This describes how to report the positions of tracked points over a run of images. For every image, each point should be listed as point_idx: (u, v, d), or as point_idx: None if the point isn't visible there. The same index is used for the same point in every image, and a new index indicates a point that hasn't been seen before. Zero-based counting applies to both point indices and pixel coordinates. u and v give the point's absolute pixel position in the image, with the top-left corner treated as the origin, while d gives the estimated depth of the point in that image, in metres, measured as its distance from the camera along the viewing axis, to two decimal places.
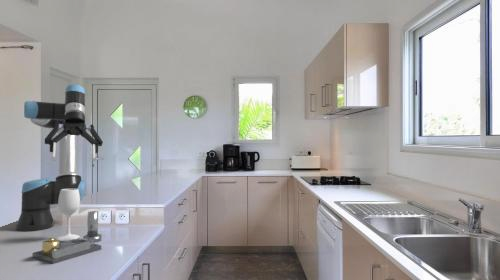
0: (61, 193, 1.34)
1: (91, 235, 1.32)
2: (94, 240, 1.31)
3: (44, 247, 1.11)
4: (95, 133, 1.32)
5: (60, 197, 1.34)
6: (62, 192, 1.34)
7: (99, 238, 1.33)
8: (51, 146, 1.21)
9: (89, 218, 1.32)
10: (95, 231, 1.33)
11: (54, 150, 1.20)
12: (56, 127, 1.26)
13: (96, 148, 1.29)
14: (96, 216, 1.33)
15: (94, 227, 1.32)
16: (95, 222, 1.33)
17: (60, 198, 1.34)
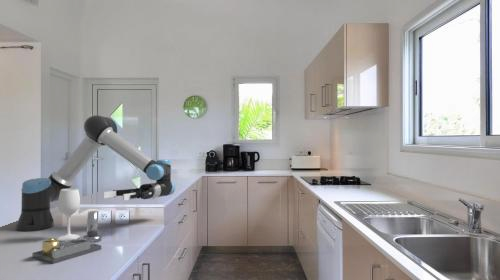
0: (61, 193, 1.34)
1: (91, 235, 1.32)
2: (94, 240, 1.31)
3: (44, 247, 1.11)
4: None
5: (60, 197, 1.34)
6: (62, 192, 1.34)
7: (99, 238, 1.33)
8: (134, 197, 1.43)
9: (89, 218, 1.32)
10: (95, 231, 1.33)
11: None
12: (147, 196, 1.51)
13: None
14: (96, 216, 1.33)
15: (94, 227, 1.32)
16: (95, 222, 1.33)
17: (60, 198, 1.34)
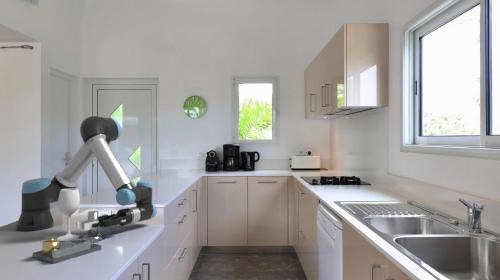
0: (61, 193, 1.34)
1: (91, 235, 1.32)
2: (94, 240, 1.31)
3: (44, 247, 1.11)
4: None
5: (60, 197, 1.34)
6: (62, 192, 1.34)
7: (100, 237, 1.33)
8: (96, 226, 1.32)
9: (89, 218, 1.32)
10: (95, 231, 1.33)
11: None
12: None
13: None
14: (96, 216, 1.33)
15: None
16: None
17: (60, 198, 1.34)
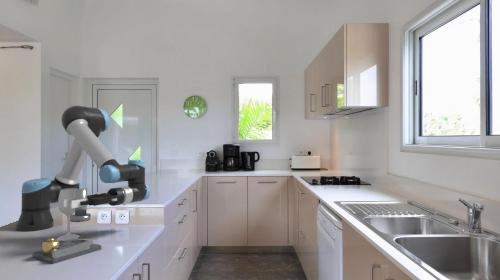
0: (61, 193, 1.34)
1: (79, 214, 1.21)
2: (82, 219, 1.20)
3: (44, 247, 1.11)
4: None
5: (60, 197, 1.34)
6: (62, 192, 1.34)
7: (88, 217, 1.23)
8: (85, 204, 1.21)
9: (77, 195, 1.21)
10: (84, 209, 1.22)
11: None
12: (110, 202, 1.29)
13: None
14: (85, 193, 1.23)
15: None
16: None
17: (60, 198, 1.34)
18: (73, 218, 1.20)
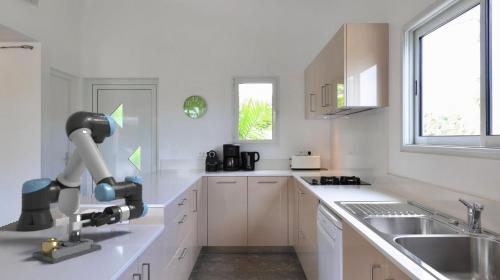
0: (61, 193, 1.34)
1: (73, 240, 1.19)
2: None
3: (44, 247, 1.11)
4: None
5: (60, 197, 1.34)
6: (62, 192, 1.34)
7: None
8: (87, 226, 1.18)
9: (71, 221, 1.19)
10: (78, 236, 1.20)
11: None
12: None
13: None
14: (79, 219, 1.20)
15: (76, 231, 1.19)
16: None
17: (60, 198, 1.34)
18: None
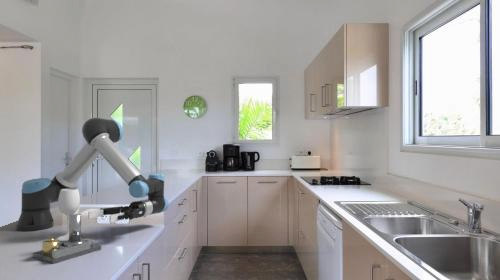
0: (61, 193, 1.34)
1: (73, 240, 1.19)
2: None
3: (44, 247, 1.11)
4: None
5: (60, 197, 1.34)
6: (62, 192, 1.34)
7: None
8: (122, 218, 1.30)
9: (71, 221, 1.19)
10: (78, 236, 1.20)
11: None
12: None
13: None
14: (79, 219, 1.20)
15: (76, 231, 1.19)
16: (78, 226, 1.20)
17: (60, 198, 1.34)
18: None
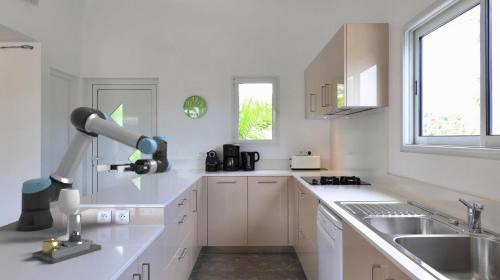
0: (61, 193, 1.34)
1: (73, 240, 1.19)
2: None
3: (44, 247, 1.11)
4: None
5: (60, 197, 1.34)
6: (62, 192, 1.34)
7: None
8: (128, 170, 1.38)
9: (71, 221, 1.19)
10: (78, 236, 1.20)
11: None
12: None
13: None
14: (79, 219, 1.20)
15: (76, 231, 1.19)
16: (78, 226, 1.20)
17: (60, 198, 1.34)
18: None
